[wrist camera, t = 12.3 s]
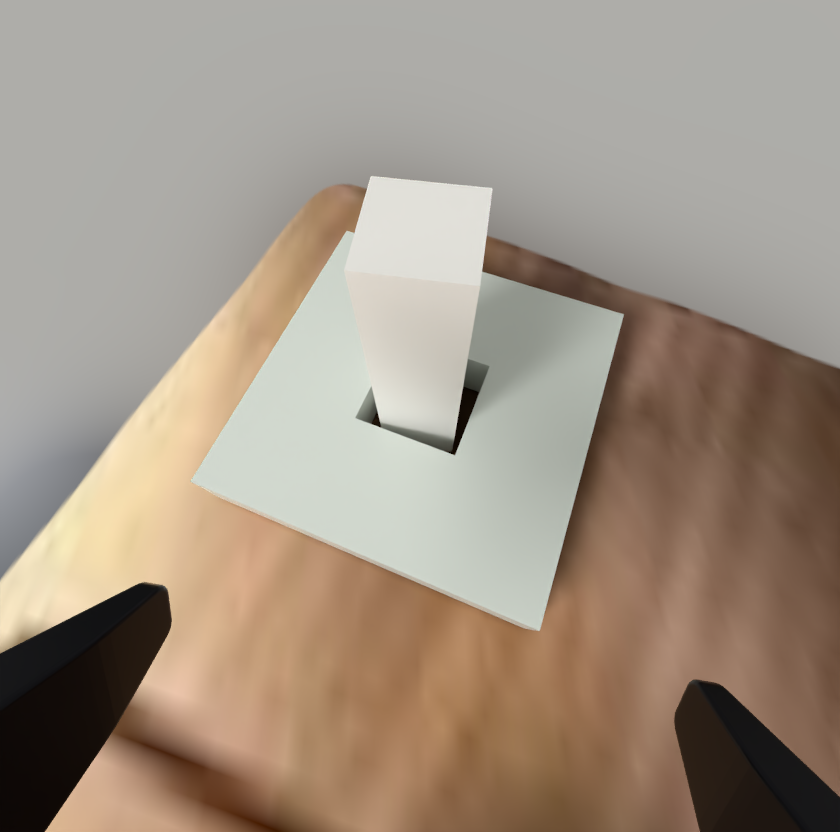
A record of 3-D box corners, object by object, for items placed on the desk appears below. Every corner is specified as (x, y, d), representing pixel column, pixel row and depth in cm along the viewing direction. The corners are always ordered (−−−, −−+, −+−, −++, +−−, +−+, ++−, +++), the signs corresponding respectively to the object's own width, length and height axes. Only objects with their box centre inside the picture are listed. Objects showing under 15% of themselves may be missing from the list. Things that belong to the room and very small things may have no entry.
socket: (524, 628, 20) (539, 631, 17) (219, 497, 22) (190, 481, 20) (602, 345, 26) (624, 314, 23) (354, 267, 28) (346, 230, 26)
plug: (452, 451, 23) (480, 286, 11) (384, 442, 24) (343, 270, 12) (460, 391, 25) (492, 188, 13) (396, 383, 25) (370, 175, 13)
